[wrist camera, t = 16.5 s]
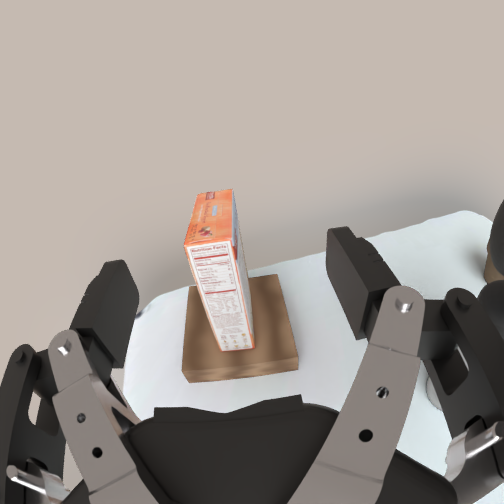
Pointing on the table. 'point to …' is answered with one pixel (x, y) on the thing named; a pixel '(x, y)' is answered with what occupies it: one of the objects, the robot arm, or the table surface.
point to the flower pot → (491, 269)
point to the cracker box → (221, 269)
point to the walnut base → (249, 360)
